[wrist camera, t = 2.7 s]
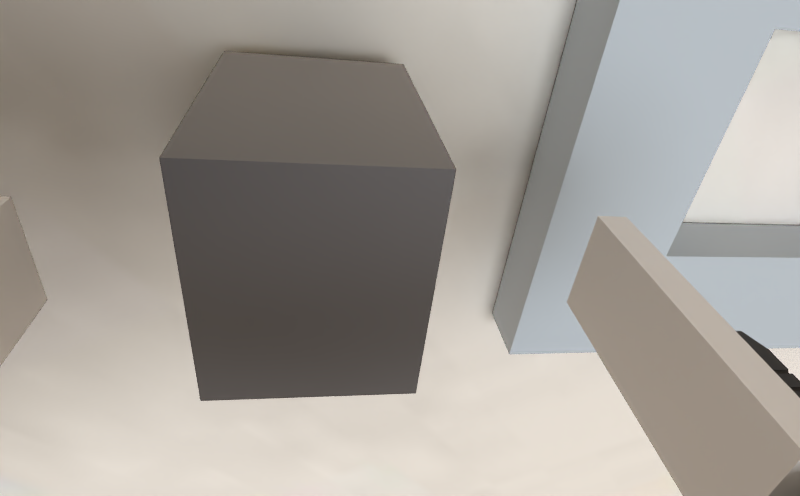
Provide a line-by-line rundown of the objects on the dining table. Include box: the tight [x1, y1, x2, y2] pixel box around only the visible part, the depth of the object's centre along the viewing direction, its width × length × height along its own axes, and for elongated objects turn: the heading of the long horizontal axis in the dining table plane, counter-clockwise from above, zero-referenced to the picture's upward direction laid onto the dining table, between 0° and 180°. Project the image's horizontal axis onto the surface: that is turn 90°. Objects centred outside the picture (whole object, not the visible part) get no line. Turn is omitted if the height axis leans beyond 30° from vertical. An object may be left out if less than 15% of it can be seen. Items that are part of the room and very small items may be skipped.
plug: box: [159, 51, 456, 401], centre depth 14 cm, size 5×6×8 cm
